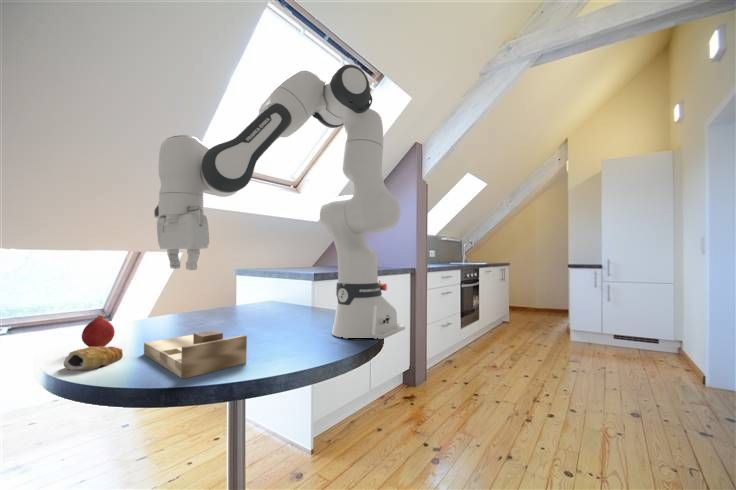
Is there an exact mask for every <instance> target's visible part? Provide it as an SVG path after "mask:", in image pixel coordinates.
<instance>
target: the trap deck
mask: <svg viewBox="0 0 736 490" xmlns="http://www.w3.org/2000/svg"><path fill="white" fill-rule="evenodd" d="M193 336H194V334H189V335H182V336H177V337H171V338H165V339H159V340H153V341H146V342H143V355H145V356H146V357H148V358H149V359H150V360H152V361H154V362H155V363H158V364H159V365H160V366H162V367H164V368H165V369H166V370H168V371H170V372H172V373H173V374H175V375H176V376H178V377H179V378H180V379H183V380H185V379H188V378H192V377H197V376H199V375H201V376H202V375H205V374H208V373H213V372H216V371H220V370H224V369H228V368H232V367H236V366H240V365H244V364H247V345H248V343H247V339H248V337H247V336H248V335H246V334H242V335H237V336H230V337H227V338H223V339H220V340H215V341H209V342H204V343H198V344H193Z"/></svg>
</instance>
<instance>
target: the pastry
mask: <svg viewBox="0 0 736 490" xmlns="http://www.w3.org/2000/svg"><path fill="white" fill-rule="evenodd" d="M123 355H124V353H123V349H121V348H119V347H115V346H99V347H95V346H90V347H88V346H87V347H85V348H80V349H76V350H73V351H71V352H69V354H68V355H67V357H66V358H65V361H63V367H64V368H65V369H66V368H67V369H66V370H68V369H70V371H88V370H89V369H91V370H95V369H98V368H99V367H100V366H104V367H105V366H108V364H109V365H110V364H112V363H113V364H114V363H115V362H117V361H119V360H121V359H122V358H123ZM89 371H90V370H89Z"/></svg>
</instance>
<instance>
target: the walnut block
mask: <svg viewBox="0 0 736 490" xmlns="http://www.w3.org/2000/svg"><path fill="white" fill-rule="evenodd" d="M193 335H194V336H193V344H198V343H204V342H209V341H215V340H220V339H224V333H223V332H221V331H218V330H215V329H212V330H206V331H200V332H194V333H193Z"/></svg>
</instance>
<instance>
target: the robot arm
mask: <svg viewBox="0 0 736 490" xmlns="http://www.w3.org/2000/svg"><path fill="white" fill-rule="evenodd" d="M372 103H373V95H372V93H371V84H370V81H369V78H368V76H367V75H366V72H364V71H363V69H362V68H360V67H359V66H357V65H355V64H350V63H349V64H348V63H347V64H344V65H342V66H339V68H338V69H336V70H335V71H334V72H333V73H332V74H331V76H330V78H329V79H328V80H327V81H324V80H322V79H320V77H319V76H318V75H317V74H316V73H314V72H313V71H311V70H309V69H299V70H297V71H296V72H294V73H292V74H291V75H289V76H287V77H286V78H285V79H283V81H281V82H280V83H279V84H278V85H277V86H276V87H274V88H273V89H272V91H270V93H269V94H268V95H267V97H266V98H265V99H264V100H263V101H262V103H261V105H260V106H259V109H258V114H257V116H256V118H254V119H253V120H252V121H251V122H250V123H249V125H247V126H246V127H245V128H244V129H243V130H242V131H241V132H240V133H238V135H236V137H234V138H232V139H230V140H228V141H225V142H221V143H218V144H216V145H214V146H212V147H208V146H207V145H206V144H204V143H203V142H202V141H200V140H199V138H197V137H195V136H191V135H182V134H181V135H174V136H171V137H166V139H164V140H163V141H162V143H160V147H159V152H158V177H159V180H160V189H159V192H158V203H157V205H156V207H155V208H154V211H153V212H154V213H153V215H154V218H156V219H157V221H156V233H157V242H158V246H159V248H160V250H167V252H166V253H167V258H168V261H169V268H170V269H174V270H175V269H177V270H178V269H180V268H181V260H180V257H179V253H180V250H186V254H187V260H186V262H185V270H187V271H196V270H197V269H198V260H199V257H200V253H201V251H200V250H201V249H202V250H203V249H204V250H205V249H208V247H209V246H210V230H209V222H208V221H209V220H208V218H207V215H206V214H204V194H208V195H211V196H216V197H220V198H221V197H222V198H225V197H230V196H233V195H235V194H236V193H238V191H240V190H242V189H245V187H246V186H247V185H248V184H249V183H250V181H251V179H252V178H253V175H254V171H255V167H256V163H257V161H259V159H260V158H261V157H262V155H263V154H264V153H265V152H266V151H267V150H268V149H269V148H270V147H271V146H272V145H273V144H274V143H275V141H277V140H278V139H279V138H288V137H290V136H291V135H293V134H295V133H296V132H297V131H298V130H299V129H300V128H301V127H302V126H304V124H306V123H307V122H308V121H309V119H310V118H311V116H312V117H313V118H314V119H317V121H318V122H319V123H321V124H322V125H323V126H325V127H327V128H329V129H336V128H340V127H342V126H344V127H343V128H344V130H345V140H344V149H343V159H342V160H343V163H342V172H343V175H344V176H345V177H346V178H347V179H348V180H350V181H351V182H352V183H353V190H354V191H353V194H348V195H340V196H336V197H334V198H332V199H329V200H327V201H325V202H324V203H323V204H322V206H321V208H320V212H319V219H320V223H321V225H322V226H323V228H324V229H325V230H326V231H327V232H328V233H329V234H330V236H331V238H332V240H333V243H334V247H335V249H336V255H337V282H336V287H335V288H336V289H335V290H336V291H335V293H336V298H337V302H336V305H335V315H334V321H333V326H332V331H331V335H333V336H334V337H337V338H341V337H343V338H342V339H348V338H374V340H383V339H387V338H388V337H391V336H393V335H396V334H398V333H400V332H402V331H404V330H406V325H404V324H402V323H399V322H398V316H397V315H398V314H397V310H396V308H395V307H394V306H393V305H392V304H391V303H390V302H389V301H388V300H386V299H385V298H384V297H383V294H382V293H383V292H384V291H385V292H386V291H387V290H388V284H387V283H381V282H380V283H379V282H378V266H379V265H378V264H379V263H378V262H379V260H378V255H377V253H376V252H375V250H373V249H372V248H370V247H369V246H368V244H367V243H366V239H365V237H364V236H365V235H364V234H366V233H367V234H368V233H381V232H384V231H387V230H390V229H393V228H395V227H396V226H397V224H398V222H399V220H400V217H401V207H400V203H399V201H398V199H397V198H396V197H395V195H394V194H392V193H391V192H390V191H389V190H388V188H387V187H386V184H385V182H384V179H383V153H384V128H383V126H384V125H383V120H382V117H381V115H380V113H378V112H377V111H376V110H374V109H371V105H372ZM382 291H383V292H382ZM377 338H378V339H377Z"/></svg>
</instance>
